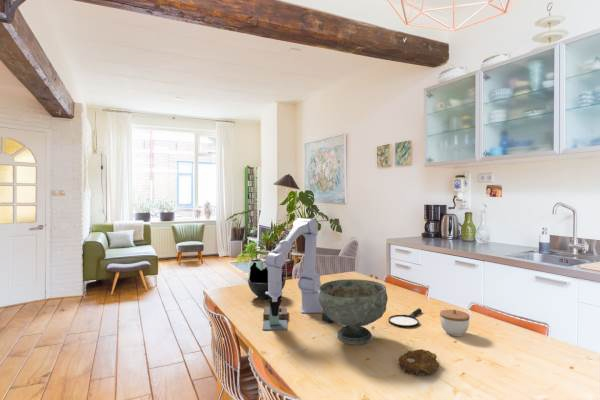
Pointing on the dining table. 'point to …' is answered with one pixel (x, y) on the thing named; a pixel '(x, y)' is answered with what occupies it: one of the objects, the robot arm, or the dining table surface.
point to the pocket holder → (281, 313)
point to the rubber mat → (280, 326)
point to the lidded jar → (454, 322)
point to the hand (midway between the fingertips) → (275, 313)
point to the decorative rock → (418, 362)
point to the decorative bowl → (353, 306)
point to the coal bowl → (260, 281)
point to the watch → (326, 318)
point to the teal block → (273, 318)
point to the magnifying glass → (405, 320)
